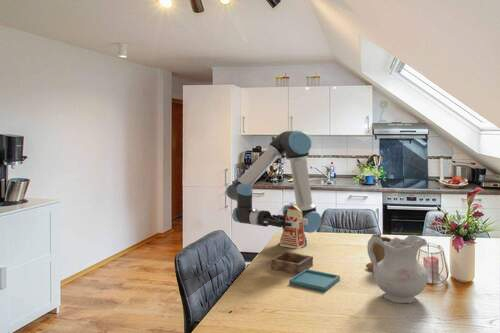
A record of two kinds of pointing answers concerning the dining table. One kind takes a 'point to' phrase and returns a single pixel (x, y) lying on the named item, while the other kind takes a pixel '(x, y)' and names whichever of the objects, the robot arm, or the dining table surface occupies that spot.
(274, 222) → the robot arm
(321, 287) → the tray
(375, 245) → the stone cup
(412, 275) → the ceramic pitcher
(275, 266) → the holder
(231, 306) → the dining table surface
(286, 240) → the milk carton
